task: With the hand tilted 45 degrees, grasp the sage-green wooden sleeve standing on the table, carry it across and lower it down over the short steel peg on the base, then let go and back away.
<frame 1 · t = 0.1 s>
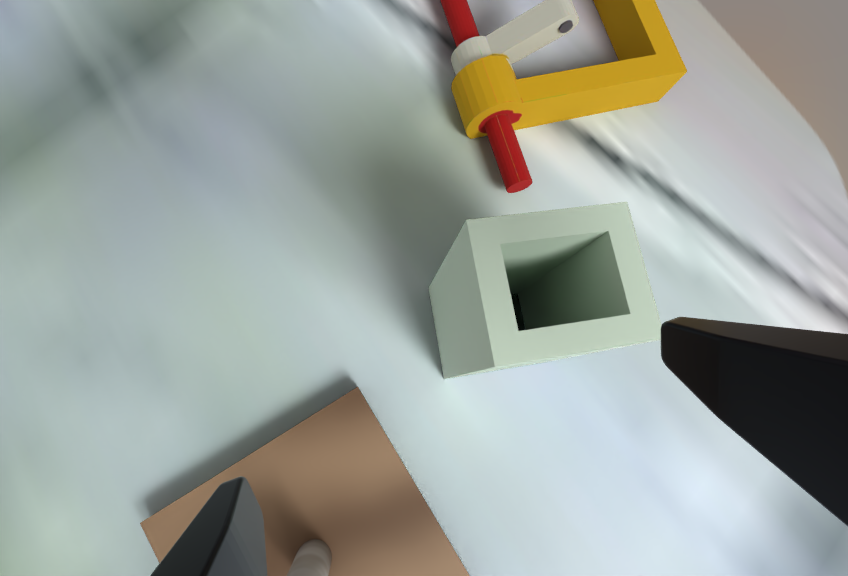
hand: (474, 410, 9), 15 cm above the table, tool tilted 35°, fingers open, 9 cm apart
sleeve: (489, 324, 25), on the table
peg stand: (316, 551, 21), on the table
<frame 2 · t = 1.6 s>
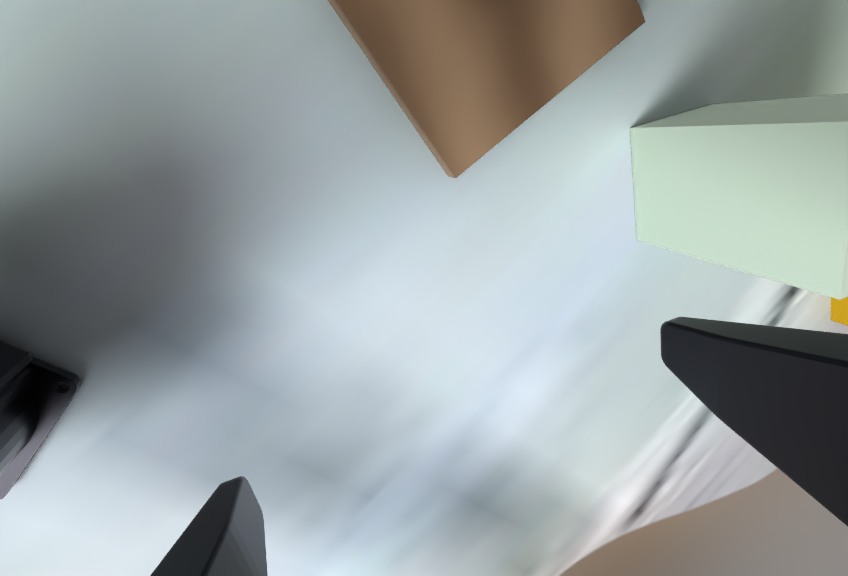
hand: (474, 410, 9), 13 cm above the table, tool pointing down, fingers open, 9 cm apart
sleeve: (673, 174, 24), on the table
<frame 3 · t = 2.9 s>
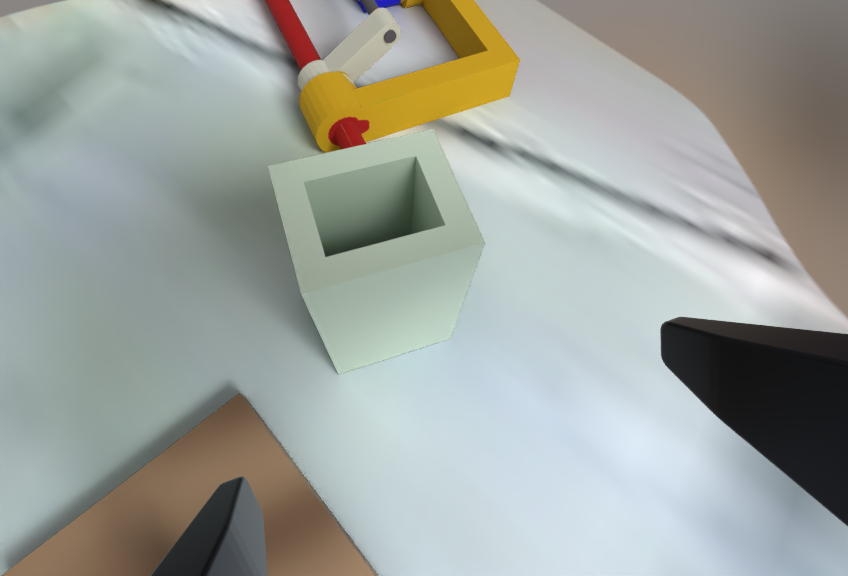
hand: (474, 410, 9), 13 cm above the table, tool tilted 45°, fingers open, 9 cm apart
sleeve: (381, 312, 24), on the table
mechanical clamp: (385, 24, 35), on the table
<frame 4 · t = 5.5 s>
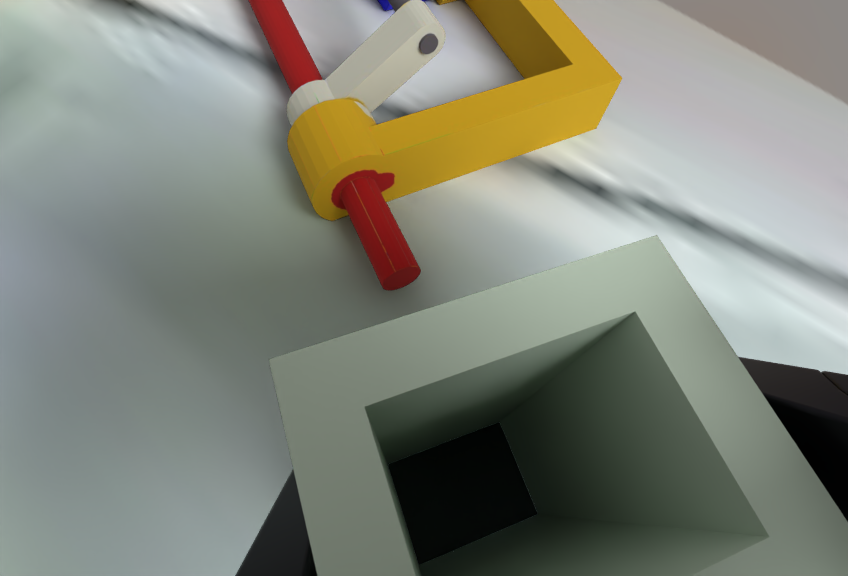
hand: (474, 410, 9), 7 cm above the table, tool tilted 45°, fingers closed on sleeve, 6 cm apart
sleeve: (461, 488, 15), on the table, touching gripper
mechanical clamp: (413, 26, 25), on the table
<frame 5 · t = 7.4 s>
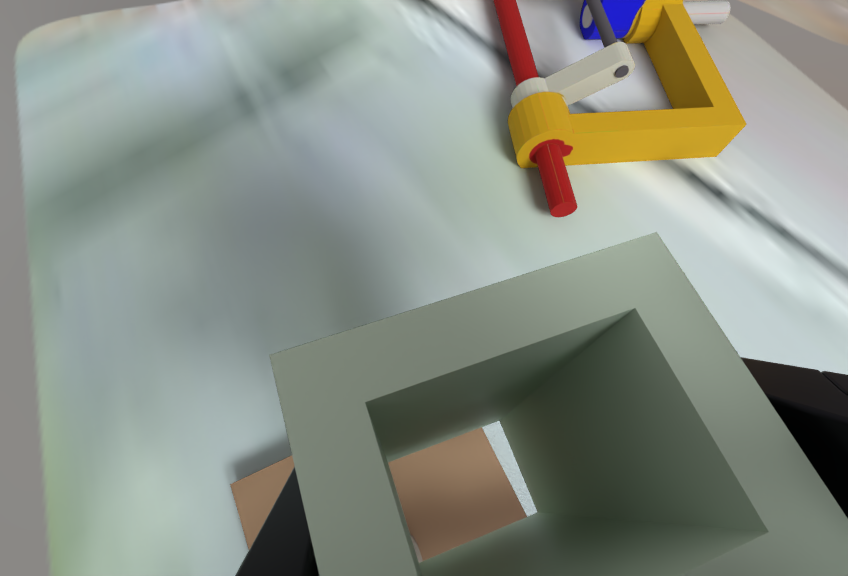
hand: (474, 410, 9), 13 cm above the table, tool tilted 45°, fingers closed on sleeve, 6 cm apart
sleeve: (461, 487, 15), point 7 cm above the table, touching gripper
mechanical clamp: (600, 54, 35), on the table
peg stand: (399, 549, 20), on the table
when the fingers open (8 cm above the table, at t = 9.3 s): sleeve stays where it is, resting on peg stand.
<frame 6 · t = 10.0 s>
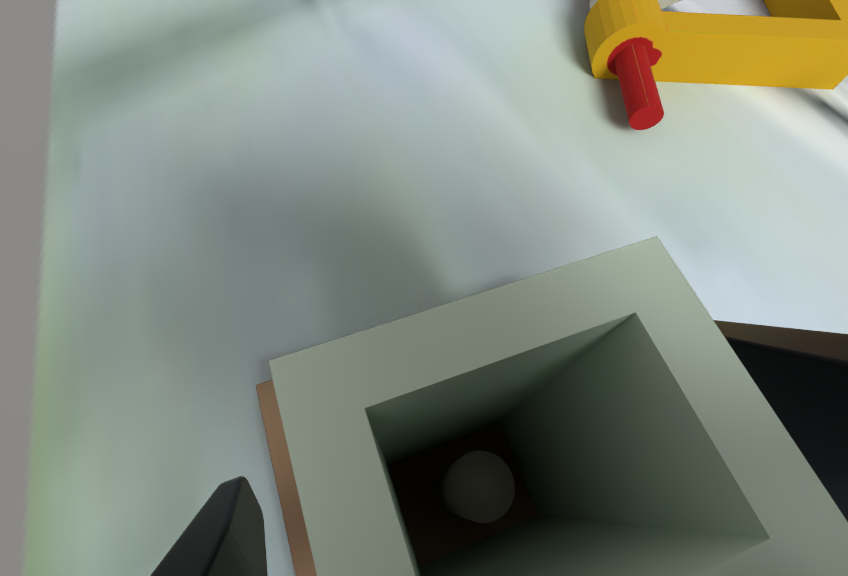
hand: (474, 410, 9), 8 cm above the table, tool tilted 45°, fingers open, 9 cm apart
sleeve: (461, 489, 15), point 1 cm above the table, touching peg stand
peg stand: (458, 490, 15), on the table
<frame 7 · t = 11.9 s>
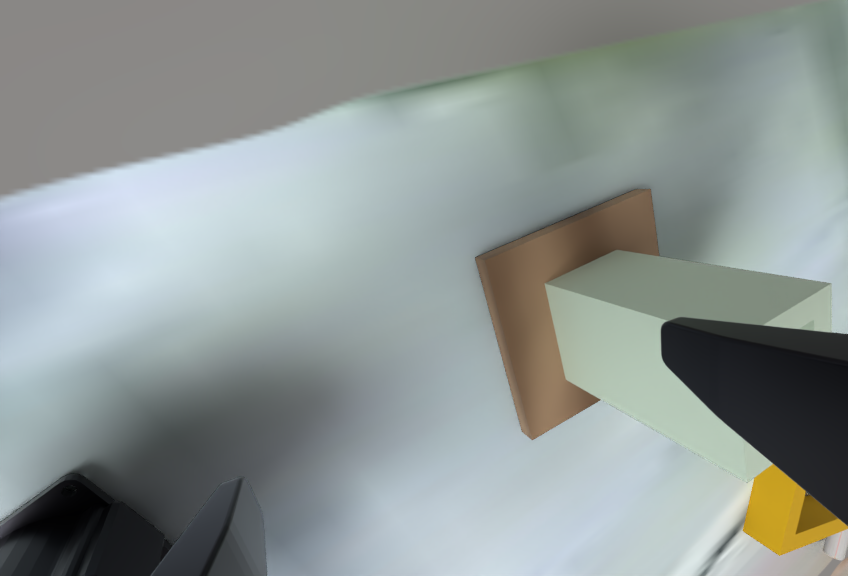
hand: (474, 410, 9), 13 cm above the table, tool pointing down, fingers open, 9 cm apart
sleeve: (591, 315, 25), point 1 cm above the table, touching peg stand
mechanical clamp: (820, 455, 42), on the table
peg stand: (578, 311, 26), on the table
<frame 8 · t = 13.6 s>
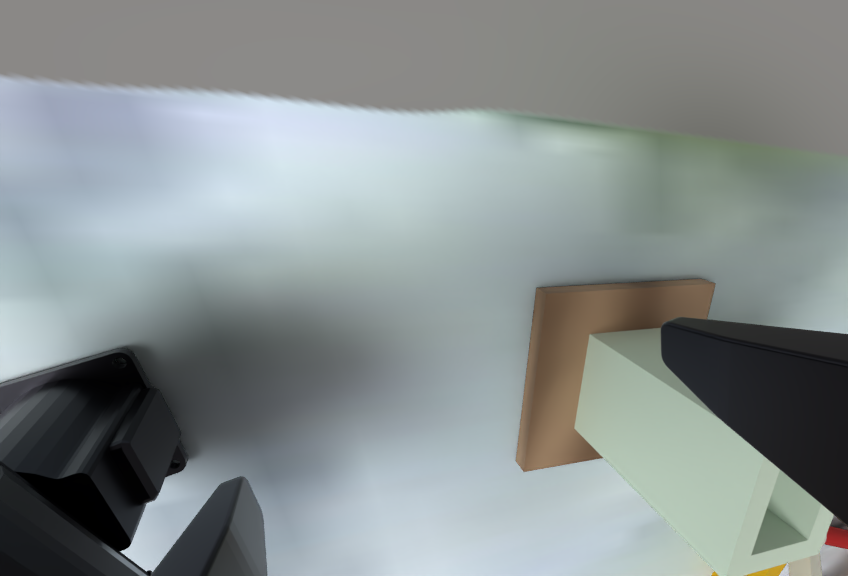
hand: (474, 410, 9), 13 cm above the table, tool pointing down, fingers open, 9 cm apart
sleeve: (618, 378, 26), point 1 cm above the table, touching peg stand
peg stand: (607, 370, 27), on the table
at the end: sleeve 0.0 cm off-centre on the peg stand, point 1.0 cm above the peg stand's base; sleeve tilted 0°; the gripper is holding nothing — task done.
